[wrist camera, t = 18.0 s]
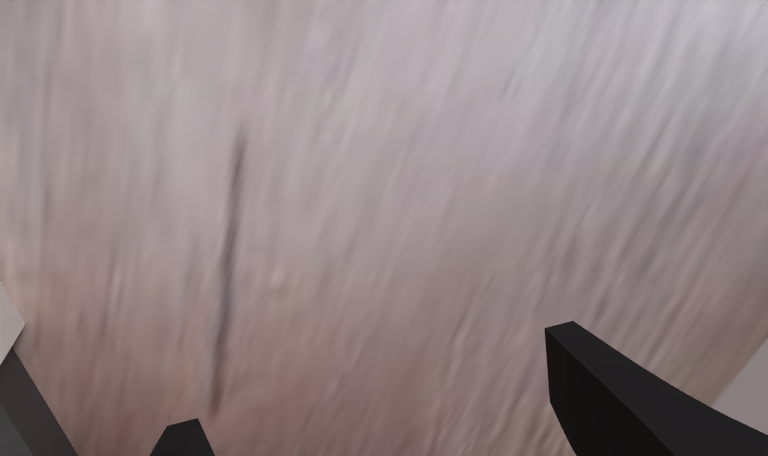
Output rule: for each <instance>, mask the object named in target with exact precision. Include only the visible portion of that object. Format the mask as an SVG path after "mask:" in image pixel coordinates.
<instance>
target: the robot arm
mask: <svg viewBox="0 0 768 456" xmlns="http://www.w3.org/2000/svg"><path fill="white" fill-rule="evenodd" d="M545 340H546V354H547V367H548V381H549V395H550V403H551V405H552V407H553V409H554V411H555V414H556V416H557V418H558V420H559V422H560V424H561V427H562V429H563V431H564V433H565V435H566V437H567V439H568V441H569V443H570V445H571V447H572V449H573V450H574V452H575V454H576V455H577V456H768V435H766V434H764V433H762V432H760V431H758V430H755V429H753V428H751V427H749V426H747V425H745V424H743V423H741V422H739V421H737V420H734V419H732V418H730V417H728V416H726V415H724V414H722V413H720V412H718V411H716V410H714V409H713V408H711V407H709V406H707V405H705V404H703V403H702V402H700V401H698V400H696V399H694V398H693V397H691V396H689V395H687V394H685V393H684V392H682V391H680V390H679V389H677V388H675V387H673V386H672V385H670V384H668V383H667V382H665V381H664V380H662V379H660V378H659V377H657V376H656V375H654V374H652V373H651V372H649V371H647V370H646V369H644V368H643V367H641V366H640V365H638V364H636V363H635V362H633V361H632V360H630V359H629V358H627V357H626V356H624V355H623V354H621V353H620V352H618V351H617V350H615V349H614V348H612V347H611V346H609V345H608V344H606V343H605V342H603V341H602V340H601V339H599V338H598V337H596V336H595V335H593V334H592V333H590V332H589V331H587V330H586V329H584V328H583V327H581V326H580V325H578V324H577V323H575V322H574V321H571V322H567V323H563V324H559V325H555V326H552V327H548V328H545ZM150 456H215V455H214V453H213V451H212V448H211V446H210V444H209V442H208V440H207V437H206V435H205V433H204V431H203V429H202V426H201V424H200V422H199V420H198V418H197V419H193V420H189V421H185V422H181V423H177V424H173V425H170V426H167V428H166V429H165V431H164V432H163V434H162V436H161V437H160V439H159V441H158V442H157V444H156V446H155V447H154V449H153V451H152V453H151V454H150Z"/></svg>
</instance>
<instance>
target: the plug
mask: <svg viewBox="0 0 768 456" xmlns="http://www.w3.org/2000/svg"><path fill="white" fill-rule="evenodd" d="M24 326H25V323H24V321H23V319H22V317H21V316H20V314H19V312H18V310H17V309H16V307H15V305H14V304H13V302H12V300H11V298H10V297H9V295H8V293H7V291H6V290H5V288H4V286H3V285H2V283H1V281H0V456H78V455H77V453H76V452H75V450H74V448H73V447H72V445H71V443H70V442H69V440H68V438H67V437H66V435H65V433H64V432H63V430H62V429H61V427H60V425H59V424H58V422H57V420H56V419H55V417H54V415H53V414H52V412H51V410H50V409H49V407H48V405H47V404H46V402H45V400H44V399H43V397H42V396H41V394H40V392H39V391H38V389H37V387H36V386H35V384H34V382H33V381H32V379H31V377H30V376H29V374H28V372H27V371H26V369H25V368H24V366H23V364H22V363H21V361H20V359H19V358H18V356H17V354H16V353H15V351H14V349H13V348H12V345H13V344H14V342H15V340H16V339H17V337H18V336H19V334H20V332H21V331H22V329H23V327H24Z"/></svg>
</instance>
